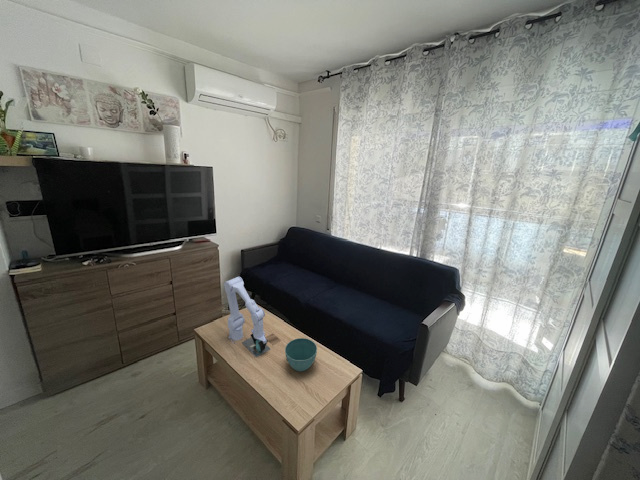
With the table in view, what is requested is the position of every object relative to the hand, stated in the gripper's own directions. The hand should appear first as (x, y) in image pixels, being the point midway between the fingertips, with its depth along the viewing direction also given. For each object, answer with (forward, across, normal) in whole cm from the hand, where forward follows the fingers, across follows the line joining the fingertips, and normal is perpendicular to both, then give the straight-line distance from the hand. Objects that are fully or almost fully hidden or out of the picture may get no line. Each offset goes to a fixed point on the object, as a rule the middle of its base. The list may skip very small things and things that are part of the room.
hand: (259, 347), depth 153 cm
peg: (+3, 0, 0) cm, 3 cm away
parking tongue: (+3, +2, -12) cm, 12 cm away
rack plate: (+3, +4, 0) cm, 5 cm away
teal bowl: (+3, -26, -12) cm, 29 cm away
